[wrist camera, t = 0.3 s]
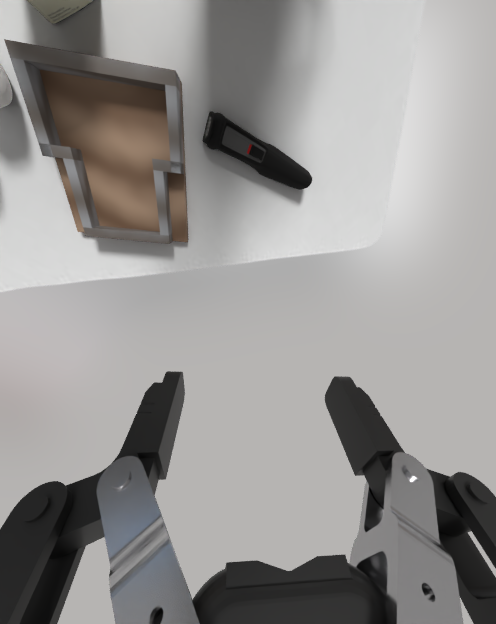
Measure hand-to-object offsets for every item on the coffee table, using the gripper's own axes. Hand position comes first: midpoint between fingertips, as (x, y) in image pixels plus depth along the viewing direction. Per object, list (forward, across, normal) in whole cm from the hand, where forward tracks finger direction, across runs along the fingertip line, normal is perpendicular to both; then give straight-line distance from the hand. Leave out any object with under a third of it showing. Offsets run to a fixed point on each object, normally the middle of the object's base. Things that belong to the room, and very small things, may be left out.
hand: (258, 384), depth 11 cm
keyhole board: (+28, +17, -9) cm, 34 cm away
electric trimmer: (+29, -1, -13) cm, 32 cm away
